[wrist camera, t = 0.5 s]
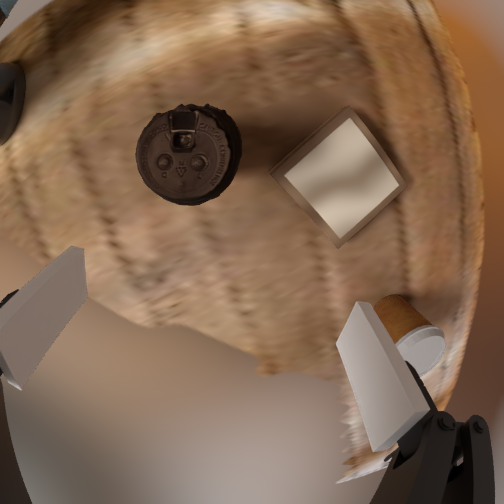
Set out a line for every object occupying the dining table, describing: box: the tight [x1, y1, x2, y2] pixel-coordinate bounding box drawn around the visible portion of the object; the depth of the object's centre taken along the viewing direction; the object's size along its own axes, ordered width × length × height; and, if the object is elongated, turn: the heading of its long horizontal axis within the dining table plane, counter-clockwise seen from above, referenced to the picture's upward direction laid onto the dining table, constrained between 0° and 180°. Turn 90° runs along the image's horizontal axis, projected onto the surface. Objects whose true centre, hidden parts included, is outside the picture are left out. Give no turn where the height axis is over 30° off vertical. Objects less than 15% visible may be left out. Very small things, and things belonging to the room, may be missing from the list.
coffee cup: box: [136, 103, 242, 206], centre depth 24 cm, size 9×8×13 cm
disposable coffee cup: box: [374, 295, 446, 377], centre depth 34 cm, size 10×10×12 cm
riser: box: [269, 106, 407, 249], centre depth 30 cm, size 12×12×3 cm
